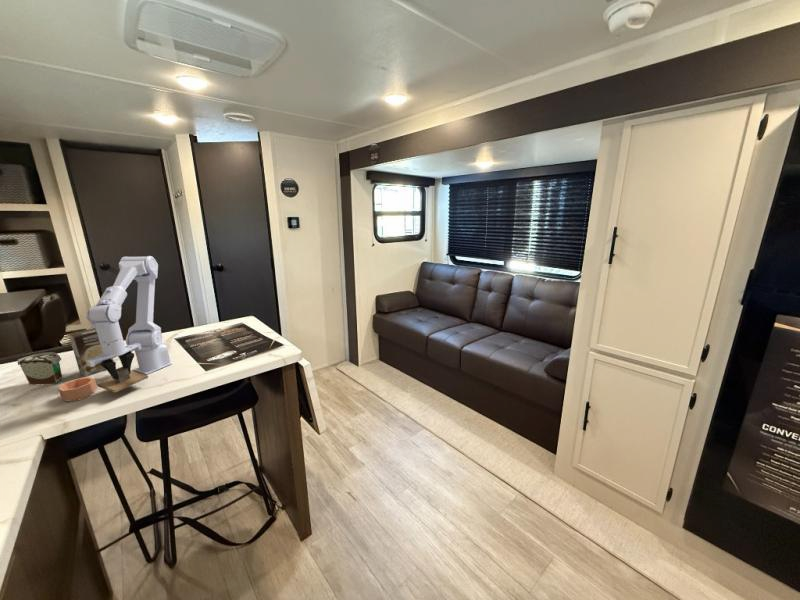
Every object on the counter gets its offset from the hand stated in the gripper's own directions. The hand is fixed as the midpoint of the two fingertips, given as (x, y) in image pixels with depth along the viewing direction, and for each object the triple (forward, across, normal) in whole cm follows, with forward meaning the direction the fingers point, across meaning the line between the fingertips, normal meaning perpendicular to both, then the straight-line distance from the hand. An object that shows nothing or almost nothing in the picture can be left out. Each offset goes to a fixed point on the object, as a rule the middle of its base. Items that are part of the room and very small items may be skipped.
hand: (121, 376), depth 109 cm
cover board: (+2, 0, 0) cm, 2 cm away
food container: (+6, +6, -32) cm, 33 cm away
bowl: (+5, +8, -10) cm, 14 cm away
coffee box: (+6, -5, -26) cm, 27 cm away
